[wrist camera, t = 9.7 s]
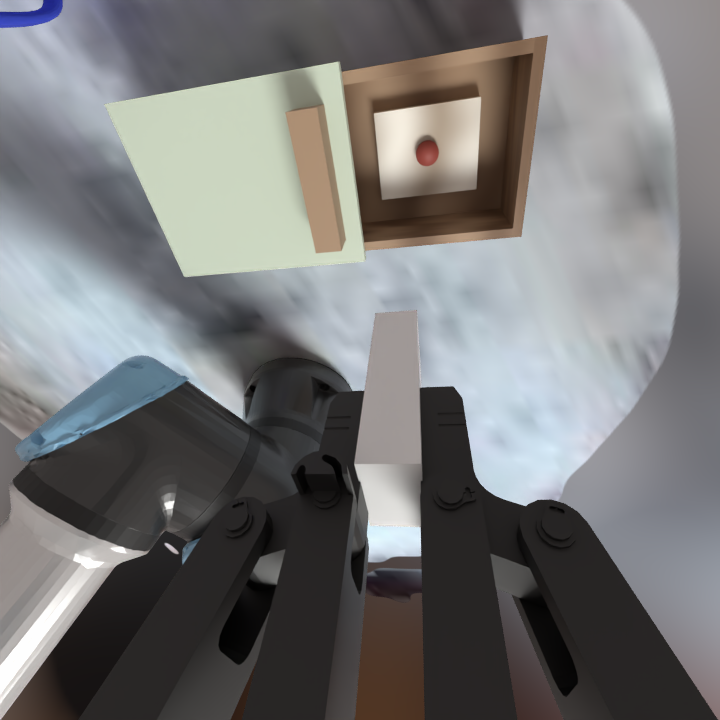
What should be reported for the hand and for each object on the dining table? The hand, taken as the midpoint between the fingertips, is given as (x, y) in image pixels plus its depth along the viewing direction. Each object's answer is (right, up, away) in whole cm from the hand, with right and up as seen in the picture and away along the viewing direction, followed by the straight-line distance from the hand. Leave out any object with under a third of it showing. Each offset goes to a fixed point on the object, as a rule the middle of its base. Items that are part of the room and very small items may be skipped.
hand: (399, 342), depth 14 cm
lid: (-10, +13, +15) cm, 22 cm away
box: (+3, +17, +17) cm, 25 cm away
